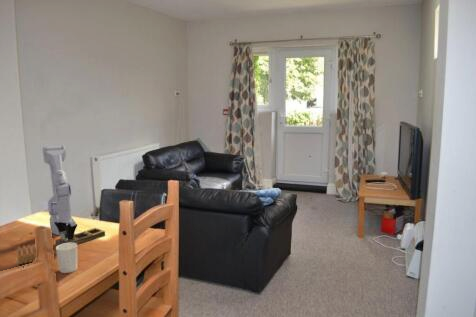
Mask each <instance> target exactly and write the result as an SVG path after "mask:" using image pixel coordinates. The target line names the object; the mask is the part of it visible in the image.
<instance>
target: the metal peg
mask: <svg viewBox="0 0 476 317" xmlns="http://www.w3.org/2000/svg"><path fill="white" fill-rule="evenodd" d="M59 236H60V239H61V242H64V243H66V242H69V241H72V240H73V239H71V240H68V237H67V232H66V231H63V232H60V235H59Z"/></svg>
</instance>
